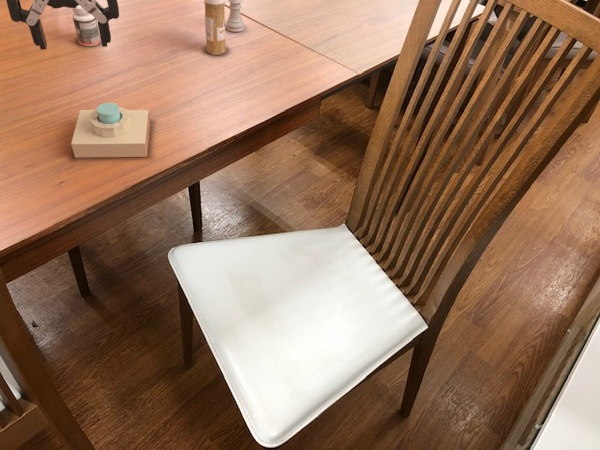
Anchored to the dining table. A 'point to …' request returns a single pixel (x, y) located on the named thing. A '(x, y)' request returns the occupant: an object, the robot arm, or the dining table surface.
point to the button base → (111, 135)
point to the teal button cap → (108, 113)
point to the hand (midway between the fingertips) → (74, 45)
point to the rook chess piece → (235, 17)
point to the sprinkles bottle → (215, 26)
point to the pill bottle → (85, 27)
